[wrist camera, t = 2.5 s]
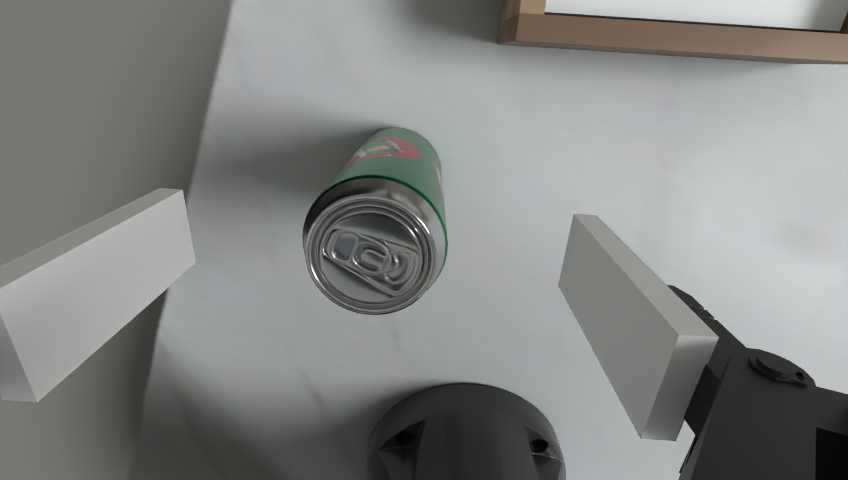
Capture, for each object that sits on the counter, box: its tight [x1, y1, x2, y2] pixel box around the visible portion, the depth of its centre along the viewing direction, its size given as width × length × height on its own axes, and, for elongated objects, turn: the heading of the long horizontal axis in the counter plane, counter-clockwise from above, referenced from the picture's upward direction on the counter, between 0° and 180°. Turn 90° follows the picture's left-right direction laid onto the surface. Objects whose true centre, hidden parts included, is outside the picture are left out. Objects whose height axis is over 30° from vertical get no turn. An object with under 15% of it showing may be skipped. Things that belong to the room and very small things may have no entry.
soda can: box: [302, 128, 448, 315], centre depth 19 cm, size 5×5×12 cm
